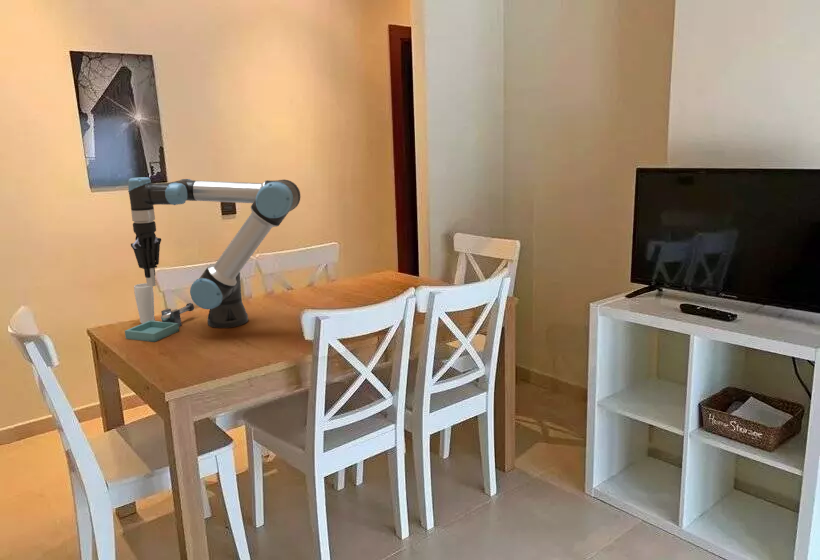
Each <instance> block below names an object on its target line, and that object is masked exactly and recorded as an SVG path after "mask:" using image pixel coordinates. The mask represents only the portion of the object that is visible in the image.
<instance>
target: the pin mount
mask: <svg viewBox="0 0 820 560" xmlns="http://www.w3.org/2000/svg"><path fill="white" fill-rule="evenodd" d="M171 309H172V308H169V307H168V308H165V309H162V310H160V311H161V312H160V313H161V316H163V315H165V314H168V313H170V316H171V318H170V319H167V320H165V321H163V320H162V319H161V322H170V323H178V325H179V328H180V327H181V326H182V318H181V314H180V310H178V309H179V308H178V309H176V308H175V309H174V310H171Z"/></svg>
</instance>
